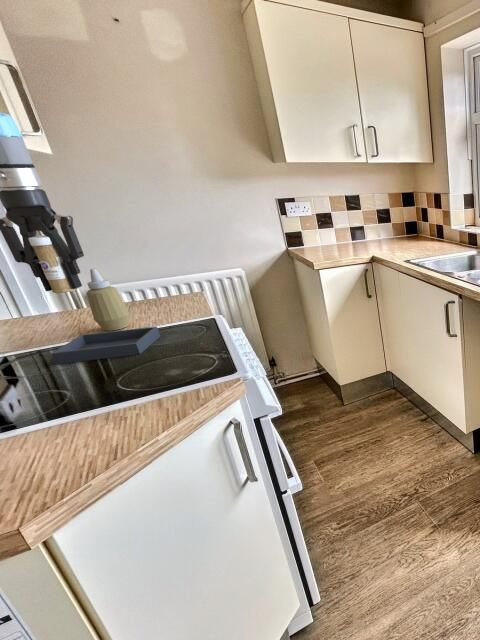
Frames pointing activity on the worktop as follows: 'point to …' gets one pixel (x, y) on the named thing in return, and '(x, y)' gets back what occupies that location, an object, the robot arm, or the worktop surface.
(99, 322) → the squeeze bottle
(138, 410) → the worktop surface
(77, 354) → the serving tray
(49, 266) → the sprinkles bottle
